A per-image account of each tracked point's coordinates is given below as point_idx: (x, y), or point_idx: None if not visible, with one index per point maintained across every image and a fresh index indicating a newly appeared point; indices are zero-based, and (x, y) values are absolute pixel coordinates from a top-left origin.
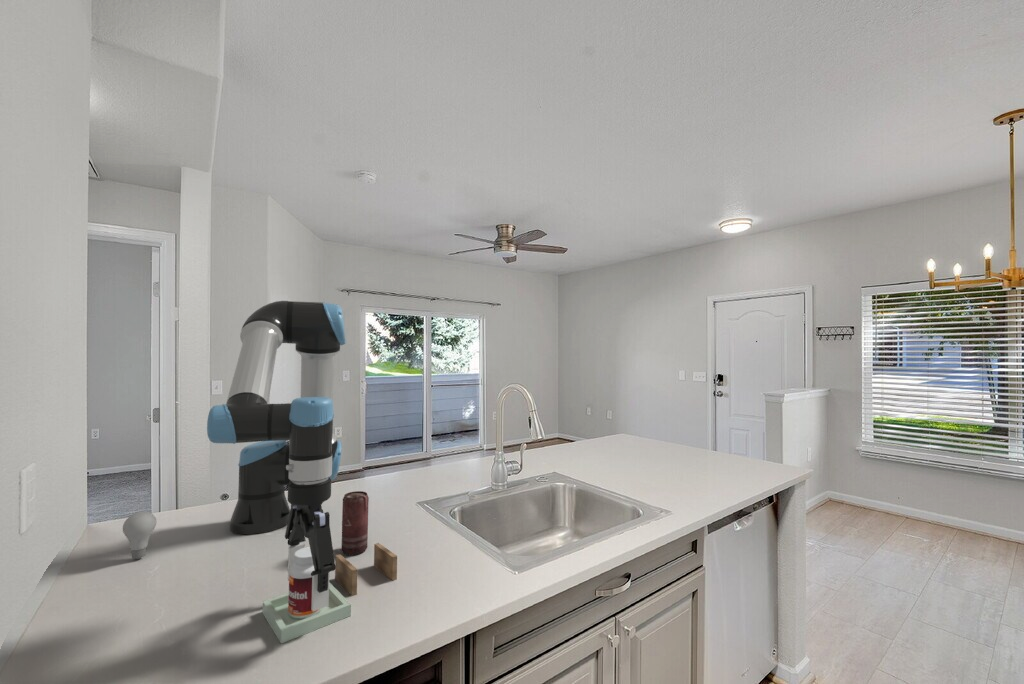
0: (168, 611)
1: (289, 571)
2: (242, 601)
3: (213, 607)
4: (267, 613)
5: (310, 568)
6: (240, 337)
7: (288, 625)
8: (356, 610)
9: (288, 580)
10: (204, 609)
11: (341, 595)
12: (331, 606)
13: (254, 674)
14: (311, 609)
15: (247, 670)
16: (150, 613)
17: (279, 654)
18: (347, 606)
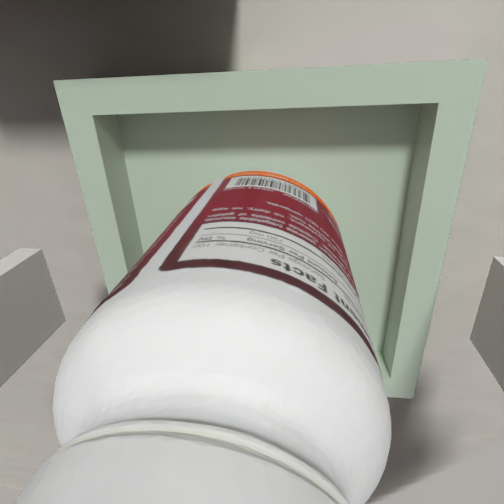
0: (17, 481)
1: (25, 358)
2: (37, 367)
3: (41, 422)
4: None
5: (357, 498)
6: None
7: (396, 373)
8: (429, 3)
9: (57, 321)
10: (42, 437)
11: (318, 71)
12: (309, 135)
13: (489, 444)
14: (470, 339)
15: (451, 448)
16: (11, 500)
17: (457, 380)
18: (480, 87)
